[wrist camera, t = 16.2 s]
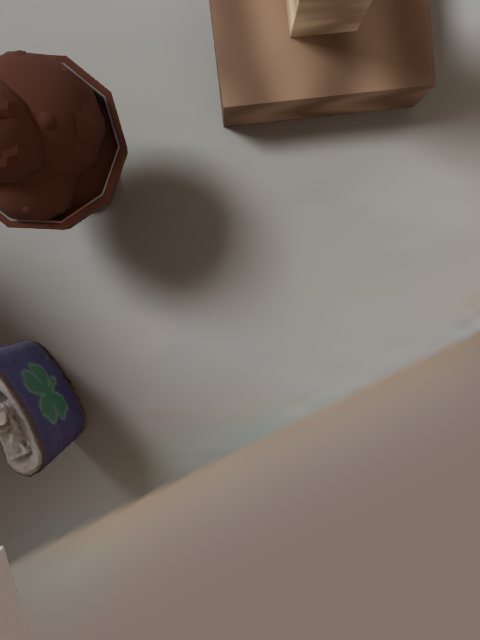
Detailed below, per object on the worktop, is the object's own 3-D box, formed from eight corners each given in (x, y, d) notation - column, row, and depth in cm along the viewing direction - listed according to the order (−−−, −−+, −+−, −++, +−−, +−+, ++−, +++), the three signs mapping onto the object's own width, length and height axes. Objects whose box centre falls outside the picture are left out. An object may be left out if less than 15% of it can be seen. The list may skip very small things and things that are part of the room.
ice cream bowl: (99, 271, 38) (17, 259, 23) (-9, 187, 38) (-166, 119, 23) (177, 171, 38) (144, 94, 23) (69, 84, 37) (-38, -55, 22)
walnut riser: (223, 126, 38) (223, 107, 34) (203, -50, 37) (200, -91, 33) (413, 106, 38) (435, 84, 34) (398, -70, 37) (418, -113, 33)
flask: (10, 348, 38) (-72, 371, 28) (40, 331, 38) (-31, 347, 28) (67, 440, 39) (8, 497, 28) (96, 424, 39) (48, 474, 28)
